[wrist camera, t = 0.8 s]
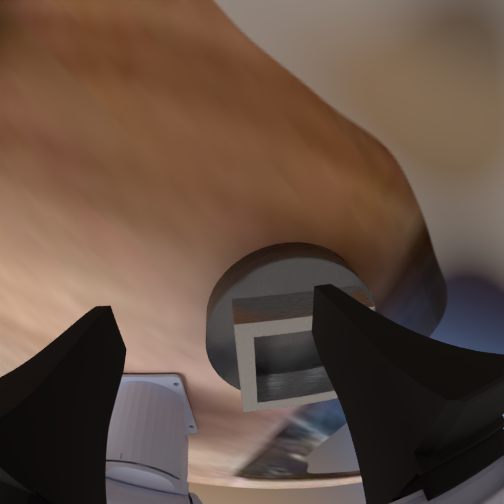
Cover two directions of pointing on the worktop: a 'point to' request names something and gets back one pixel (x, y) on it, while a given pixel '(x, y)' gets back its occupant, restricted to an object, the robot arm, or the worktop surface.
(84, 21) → the worktop surface
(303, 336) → the square tube on disc
